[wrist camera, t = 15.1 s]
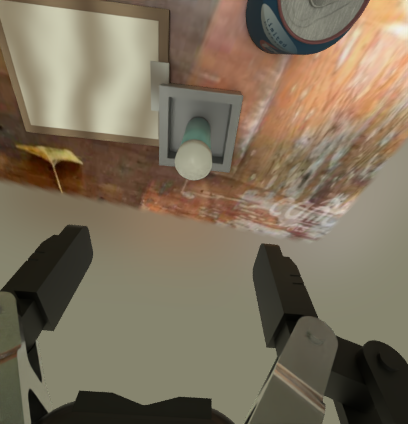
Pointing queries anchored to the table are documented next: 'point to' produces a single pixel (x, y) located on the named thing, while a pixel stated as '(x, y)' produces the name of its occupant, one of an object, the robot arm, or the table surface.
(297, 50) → the soda can
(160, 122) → the tray
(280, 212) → the table surface
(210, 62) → the table surface
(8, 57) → the clipboard
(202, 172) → the marker
